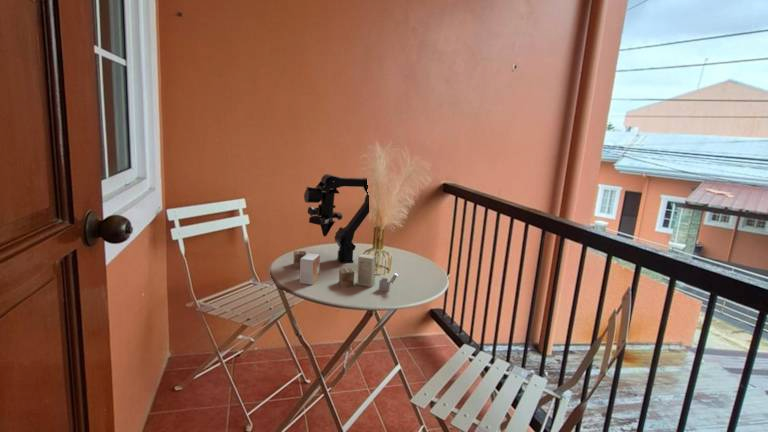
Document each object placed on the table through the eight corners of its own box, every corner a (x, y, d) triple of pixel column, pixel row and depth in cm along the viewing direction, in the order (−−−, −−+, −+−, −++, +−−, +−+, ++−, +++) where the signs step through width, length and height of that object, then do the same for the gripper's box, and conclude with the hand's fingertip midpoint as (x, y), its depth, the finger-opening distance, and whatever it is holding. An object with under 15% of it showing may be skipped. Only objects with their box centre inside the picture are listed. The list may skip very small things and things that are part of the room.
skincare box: (374, 283, 164) (376, 255, 161) (371, 287, 160) (373, 259, 157) (360, 280, 166) (362, 253, 163) (356, 284, 162) (358, 256, 159)
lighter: (378, 290, 158) (380, 271, 156) (379, 288, 159) (381, 270, 157) (396, 293, 156) (397, 274, 154) (397, 291, 158) (398, 272, 156)
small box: (312, 285, 158) (313, 260, 155) (299, 283, 159) (300, 258, 156) (319, 278, 166) (320, 254, 163) (307, 276, 167) (307, 252, 164)
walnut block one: (350, 281, 164) (351, 267, 163) (353, 286, 160) (354, 272, 158) (338, 282, 163) (339, 268, 161) (341, 287, 158) (342, 272, 157)
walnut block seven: (304, 263, 181) (305, 250, 180) (306, 267, 177) (306, 254, 175) (293, 263, 180) (293, 250, 178) (294, 267, 175) (295, 254, 174)
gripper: (324, 197, 189) (321, 229, 192) (300, 201, 172) (297, 236, 175) (344, 201, 184) (341, 234, 187) (321, 206, 168) (318, 241, 171)
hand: (324, 236), depth 180 cm, fingers closed
